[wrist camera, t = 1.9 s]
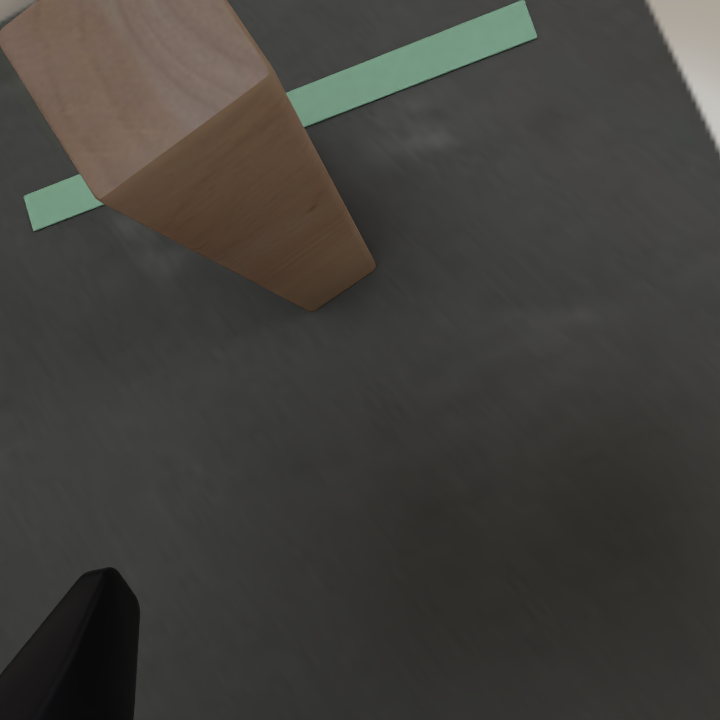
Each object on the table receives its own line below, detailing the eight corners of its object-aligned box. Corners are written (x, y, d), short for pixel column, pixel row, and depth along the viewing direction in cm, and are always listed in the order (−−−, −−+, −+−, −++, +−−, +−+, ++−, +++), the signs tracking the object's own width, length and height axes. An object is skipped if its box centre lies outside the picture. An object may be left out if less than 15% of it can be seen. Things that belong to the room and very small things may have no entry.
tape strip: (34, 231, 25) (33, 230, 25) (24, 196, 25) (23, 196, 25) (536, 38, 23) (537, 36, 23) (523, 0, 23) (523, -1, 23)
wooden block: (378, 268, 23) (276, 72, 8) (310, 314, 23) (94, 205, 9) (289, 136, 24) (46, -267, 9) (224, 183, 24) (-117, -131, 9)
